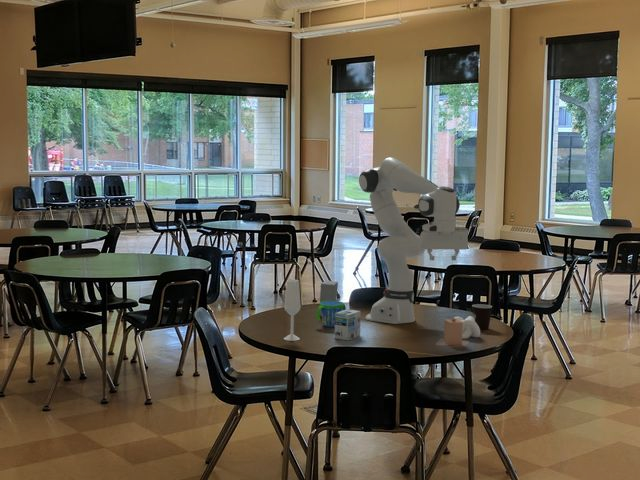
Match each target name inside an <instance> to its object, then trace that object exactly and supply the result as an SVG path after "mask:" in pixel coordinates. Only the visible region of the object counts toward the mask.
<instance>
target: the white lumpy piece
mask: <svg viewBox="0 0 640 480" xmlns="http://www.w3.org/2000/svg"><path fill="white" fill-rule="evenodd" d="M453 318H456V319H458V320H460V321H461V322H463V327H462V340H463V339H469V338H479V337H480V334H481V330H480V328H479V326H478V325H477V323H476V322H475V319H474V318H473V315H472V316H471V315H469V316H467V317H466V318H465V319H464V318H463V317H461V316H454V317H453Z"/></svg>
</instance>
